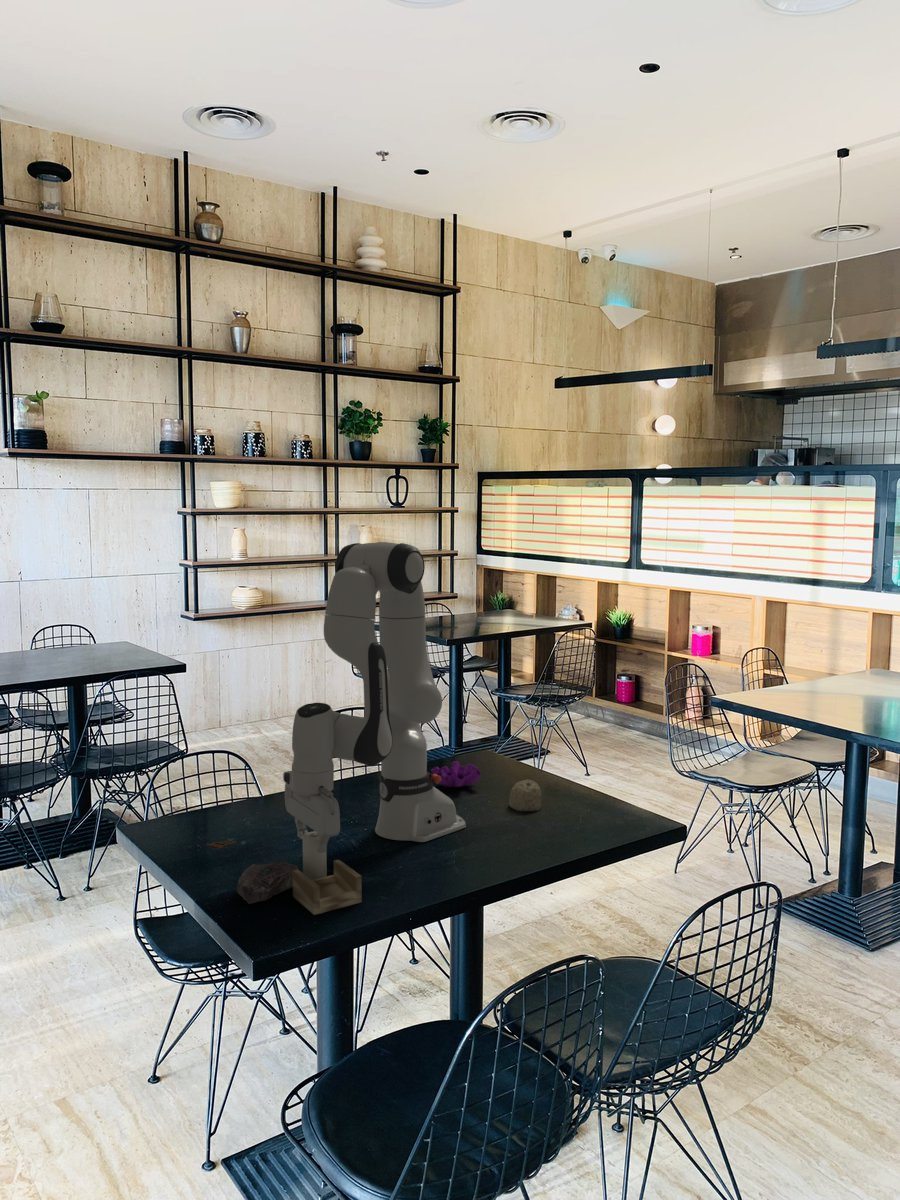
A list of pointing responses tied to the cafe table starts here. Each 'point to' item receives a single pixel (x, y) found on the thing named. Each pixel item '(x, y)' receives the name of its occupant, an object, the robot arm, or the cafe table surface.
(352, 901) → the holder
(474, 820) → the cafe table surface
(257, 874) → the rock
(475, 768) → the purple coral
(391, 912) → the cafe table surface
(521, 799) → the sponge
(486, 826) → the cafe table surface
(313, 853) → the roll
